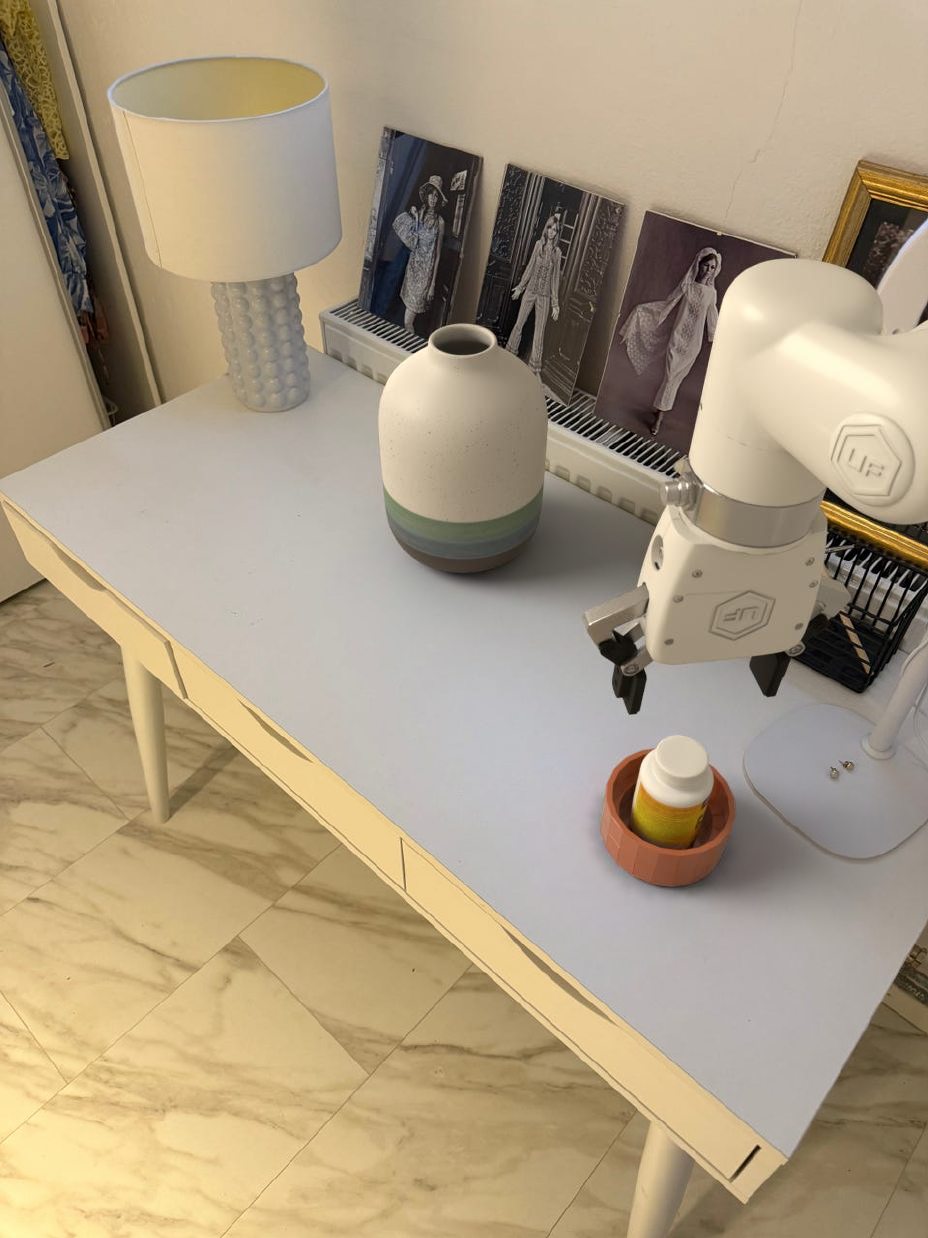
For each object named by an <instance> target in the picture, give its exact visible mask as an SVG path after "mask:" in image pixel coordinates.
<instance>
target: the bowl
mask: <svg viewBox="0 0 928 1238" xmlns="http://www.w3.org/2000/svg"><path fill="white" fill-rule="evenodd" d="M654 749H656V747H655V748H654V747H653V748H646V749H642V750H639V751H636V752H634V753H632V754H630V755H628V756H626V757H625V758H624V759H623V760H621V761H620V762H619V763H618V764H617V765H616V766H615V767H614V768H613V769H612V771H611V774H610V775H609V778H608V780H607V782H606V786H605V791H604V798H603V803H602V809H601V814H600V826H599V827H600V829H599V830H600V835H601V839H602V841H603V844H604V847H605V850H606V851H607V852H608V853H609V855H610V857H611V858H612V860H613V861H614V862H615V863H616V864H617V865H618V866H619V867H621V869H623V870H624V871H626V873H628V874H629V875H631V876H632V877H634V878H637V879H640V880H641V881H644V882H646V883H648V884H651V885H655V886H663V887H671V888H672V887H679V886H680V887H681V886H685V885H686V886H687V885H692V884H694V883H695V882H698V881H700V880H702V879H704V878H706V877H707V876H709V875H710V873H712V871H713V870H714V869H715V868H716V867H717V866H718V865H719V864H720V862H721V859H722V856H723V853H724V850H725V848H726V845H727V842H728V840H729V836H730V834H731V831H732V829H733V826H734V822H735V819H736V815H737V814H736V799H735V796H734V794H733V792H732V790H731V787H730V785H729V783H728V781H727V780H726V778H724V776H723V775H722V774H721V773H720V772H719V771H718V769H716V768H715V767H714V766H713V765H711V764H710V763H708V764H709V766H710V768H711V770H712V773H713V779H714V782H713V788H712V791H711V794H710V798H709V801H708V804H707V807H706V810H705V813H704V816H703V820H702V823H701V826H700V829H699V832H698V835H697V838H696V841H695V843H694V844H693V846H692V847H691V848H690V849H686V850H673V849H666V848H660V847H658V846H655V845H653V844H650V843H648V842H645V841H643V840H642V839H640V838H639V837H638V836H636V835H635V834H634V833H632V832H631V831H630V829H629V817H630V813H631V808H632V803H633V798H634V794H635V789H636V784H637V780H638V776H639V771H640V767H641V764H642V761H643V760H644V758H645V757H646V756H647V755H648V754H649V753H650V752H651V751H653V750H654Z"/></svg>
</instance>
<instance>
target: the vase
mask: <svg viewBox="0 0 928 1238" xmlns="http://www.w3.org/2000/svg"><path fill="white" fill-rule="evenodd" d="M377 413H378V417H377V420H378V421H377V423H378V424H377V426H378V441H379V452H380V453H379V454H380V466H381V477H382V490H383V501H384V508H385V514H386V515H385V516H386V518H387V522H388V525H389V526H388V527H389V528H390V530H391V533H392V535H393V536H394V538H395V540H396V541H397V543H398V544H399V546H400V547H401V548H402V550H403V551H404V552H405V553H406V554H407V555H409V556H410V557H411V558H412V559H414V560H415V561H417V562H419V563H421V565H422V564H423V565H424V566H427V567H429V568H432V569H435V570H439V571H442V572H446V573H447V572H449V573H455V574H456V573H458V574H471V573H478V572H479V573H480V572H484V571H488V570H491V569H495V568H498V567H500V566H502V565H504V564H506V563H508V562H510V561H512V560H513V559H514V558H516V557H517V556H518V555H519V554H521V552H523V550H525V548H527V546H528V544H529V543H530V541H531V540H532V538H533V537H534V535H535V532H536V531H537V528H538V525H539V522H540V518H541V514H542V507H543V506H542V505H543V499H544V488H545V487H544V486H545V472H546V458H547V445H548V428H549V416H548V415H549V414H548V405H547V399H546V396H545V392H544V390H543V387H542V384H541V383H540V381H539V379H538V377H537V376H536V374H535V372H534V371H533V370H532V369H531V367H529V366H528V365H527V364H526V363H525V361H523V360H522V359H520V358H519V357H518V356H516V355H515V354H513V353H512V352H510V351H508V349H505V348H503V347H501V346H499V345H498V339H497V337H496V335H495V334H494V332H493V331H491V330H490V329H489V328H486V327H484V326H482V325H477V324H472V323H454V324H449V325H445V326H442V327H439V328H438V329H436V330H434V332H432V333H431V334H430V335H429V338H428V342H427V345H426V346H425V347H423V348H420V349H419V350H418V351H416V352H415V353H413V354H411V355H410V356H408V357H407V358H406V359H404V360H403V361H402V362H401V363H400V364H399V365H398V366H397V367H396V368H395V369H394V370H393V372H392V373H391V374H390V376H389V377H388V379H387V381H386V383H385V386H384V387H383V391H382V394H381V397H380V400H379V407H378V412H377Z"/></svg>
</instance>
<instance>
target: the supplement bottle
mask: <svg viewBox="0 0 928 1238" xmlns="http://www.w3.org/2000/svg"><path fill="white" fill-rule="evenodd" d="M655 748H656V749H654V748H653V749H654V750H653V751H651V752H650V753H649V754H648V755H647V756H646V757H645V758H644V760H643V761H642V764H641V767H640V771H639V776H638V780H637V784H636V789H635V794H634V798H633V803H632V808H631V813H630V817H629V829H630V831H631V832H632V833H634V834H635V835H636V836H638V837H639V838H640V839H642V840H643V841H645V842H648V843H650V844H653V845H655V846H658V847H660V848H666V849H673V850H686V849H690V848H691V847H692V846H693V844H694V843H695V841H696V838H697V835H698V832H699V829H700V826H701V823H702V820H703V816H704V813H705V810H706V807H707V804H708V801H709V798H710V794H711V791H712V788H713V782H714V779H713V773H712V770H711V768H710V766H709V764H710V763H709V762H710V759H709V754H708V751H707V750H706V748H705V747H704V745H703V744H702V743H701V742H699V741H698V740H696V739H694V738H693V737H690V736H687V735H681V734H678V735H677V734H674V735H670V736H667V737H665V738H663V739H662V740H660V742H658V744H657V746H656V747H655Z"/></svg>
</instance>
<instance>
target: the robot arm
mask: <svg viewBox="0 0 928 1238" xmlns="http://www.w3.org/2000/svg"><path fill="white" fill-rule="evenodd" d="M724 293H725V294H724V296H723V298H722V302H721V304H720V309H719V312H718V317H717V321H716V326H715V329H714V336H713V342H712V346H711V348H710V354H709V360H708V364H707V368H706V373H705V376H704V383H703V388H702V392H701V396H700V401H699V405H698V409H697V415H696V420H695V424H694V430H693V434H692V437H691V444H690V449H689V452H688V457H687V458H685V459H684V460H683V465H682V469H681V474H680V475H679V477H675V478H673V479H672V480H670V481H669V480H668V481H662V482H661V483H660V484H659V490H658V495H659V501H660V503H661V505H662V506H663V507H664V506H665V508H664V510H663V512H662V514H661V516H660V518H659V520H658V522H657V524H656V526H655V530H654V531H653V534H652V537H651V539H650V541H649V544H648V547H647V550H646V553H645V555H644V558H643V562H642V566H641V570H640V574H639V577H638V581H637V584H636V587H635V588H633V589H631V590H629V591H626V592H625V593H623V594H619V595H618V596H615V597H614V598H612V599H609V600H607V601H605V602H603V603H600V604H598V605H597V606H594V607H592V608H590V609H588V610H586V611H585V612H583V614H582V616H581V618H582V621H583V624H584V627H585V630H586V632H587V634H588V635H589V637H590V638H591V640H592V642H593V644H594V645H595V646H596V648H597V649H598V651H599V654H600V655H601V656H602V657H604V659H607V660H608V661H609V662H611V663H613V664H614V666H613V671H612V677H611V687H612V690H613V694H614V696H615V698H616V699H622V701H623V704H624V706H625V709H626V712H627V714H628V716H631V715H632V716H633V715H637V714H638V713H639V712H641V708H642V704H643V703H642V702H643V699H644V693H645V689H646V686H647V680H648V675H647V673H646V670H645V669H646V667H648V666H649V665H650V664H651V663H653V662H656V663H658V664H663V665H670V666H676V665H677V666H678V665H690V664H700V663H711V662H717V661H725V660H726V661H728V660H736V659H743V658H750V657H751V658H750V660H749V662H748V667H749V670H750V672H751V673H752V676H753V678H754V679H755V681H756V684H757V685H758V687H759V689H760V691H761V693H762V696H765V697H766V698H773V697H774V698H775V697H776V696H777V693H778V691H779V688H780V686H781V683H782V680H783V678H785V676H786V674H787V671H788V668H789V665H790V662H791V660H792V657H796V656H800V655H802V653H803V652H804V651H805V649H806V646H805V643H806V642H808V641H810V640H812V638H814V637H816V636H818V634H820V633H822V632H823V631H824V630H826V629H827V628H828V627H829V626H830V619H831V618H835V617H836V616H837V614H839V613H840V612H841V611H842V610H843V609H844V608H845V607H846V606H847V605H848V604H849V603H850V602H851V600H852V595H851V594H850V592H849V590H848V589H847V587H846V586H845V584H844V583H843V582H841V581H839V580H836V579H833V578H831V577H828V576H824V575H823V571H824V564H825V559H826V549H827V548H826V547H827V536H828V518H827V515H826V513H825V511H824V510H823V509H822V508H821V505H822V502H823V500H824V496H825V493H826V491H827V488H828V489H829V490H830V491H831V492H832V493H833V494H835V495H836V496H837V497H838V498H840V499H841V500H842V501H843V502H845V503H846V504H848V505H849V506H851V507H852V508H854V509H855V510H856V511H858V512H859V513H861V514H863V515H865V516H868V517H870V518H872V519H874V520H877V521H880V522H884V523H887V524H894V525H916V524H921V523H926V522H928V319H927V320H925V321H923V322H922V323H920V324H919V325H917V326H916V327H914V328H912V329H911V330H909V331H907V332H902V333H894V334H885V335H881V333H882V330H883V326H884V317H885V316H884V305H883V302H882V300H881V297H880V295H879V293H878V291H877V290H876V289H875V287H874V286H873V285H872V284H871V283H870V282H869V281H868V280H866V279H865V277H863V276H861V275H859V274H858V273H856V272H854V271H852V270H850V269H848V268H845V267H842V266H839V265H837V264H835V263H830V262H826V261H821V260H815V259H808V258H777V259H770V260H766V261H762V262H759V263H757V264H755V265H752V266H751V267H748V268H746V269H744V270H743V271H742V272H740V274H739V275H737V276H736V277H735V278H734V279H733V281H732V282H731V283H730V285H728V288H727V289H726V291H725V292H724ZM626 623H627V625H626V626H625V627H623V628H622V629H621V630H619V631H617V630H615V629H616V628H618V627H620V626H622V625H625V624H626ZM642 637H644V643H643V644H642V645H641V646H640V647H637V644H636V643H637V642H638V641H639V640H640V639H642Z"/></svg>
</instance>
